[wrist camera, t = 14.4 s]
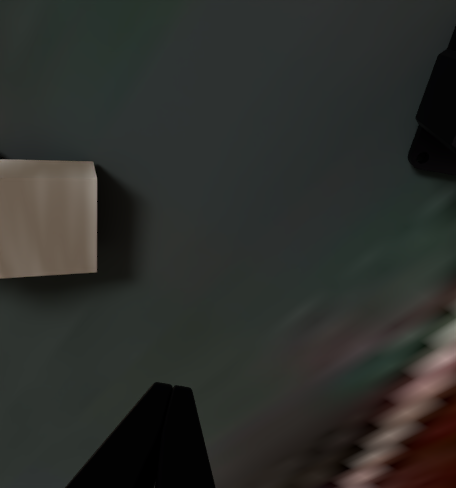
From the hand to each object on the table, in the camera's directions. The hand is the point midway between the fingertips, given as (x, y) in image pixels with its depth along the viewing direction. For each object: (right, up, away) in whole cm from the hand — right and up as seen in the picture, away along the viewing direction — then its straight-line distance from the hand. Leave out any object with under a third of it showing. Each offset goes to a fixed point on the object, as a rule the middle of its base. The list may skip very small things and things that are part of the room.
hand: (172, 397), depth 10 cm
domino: (-5, +5, +11) cm, 13 cm away
